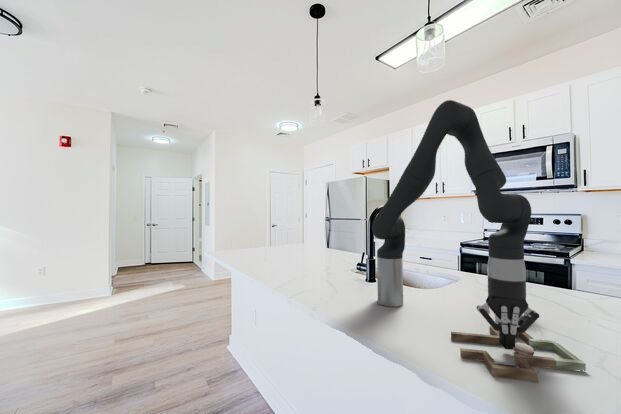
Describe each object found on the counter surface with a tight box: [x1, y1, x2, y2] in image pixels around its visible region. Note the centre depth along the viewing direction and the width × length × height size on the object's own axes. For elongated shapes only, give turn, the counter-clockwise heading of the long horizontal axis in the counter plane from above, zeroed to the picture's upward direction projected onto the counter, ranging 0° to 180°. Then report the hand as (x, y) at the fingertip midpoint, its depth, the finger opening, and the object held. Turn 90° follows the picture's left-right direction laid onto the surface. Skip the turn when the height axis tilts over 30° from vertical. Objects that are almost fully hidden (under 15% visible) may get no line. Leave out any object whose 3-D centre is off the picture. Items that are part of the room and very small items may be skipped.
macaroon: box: [512, 342, 535, 356], centre depth 66 cm, size 4×5×2 cm
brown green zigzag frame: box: [450, 325, 587, 383], centre depth 66 cm, size 24×23×2 cm
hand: (507, 347), depth 66 cm, fingers closed
